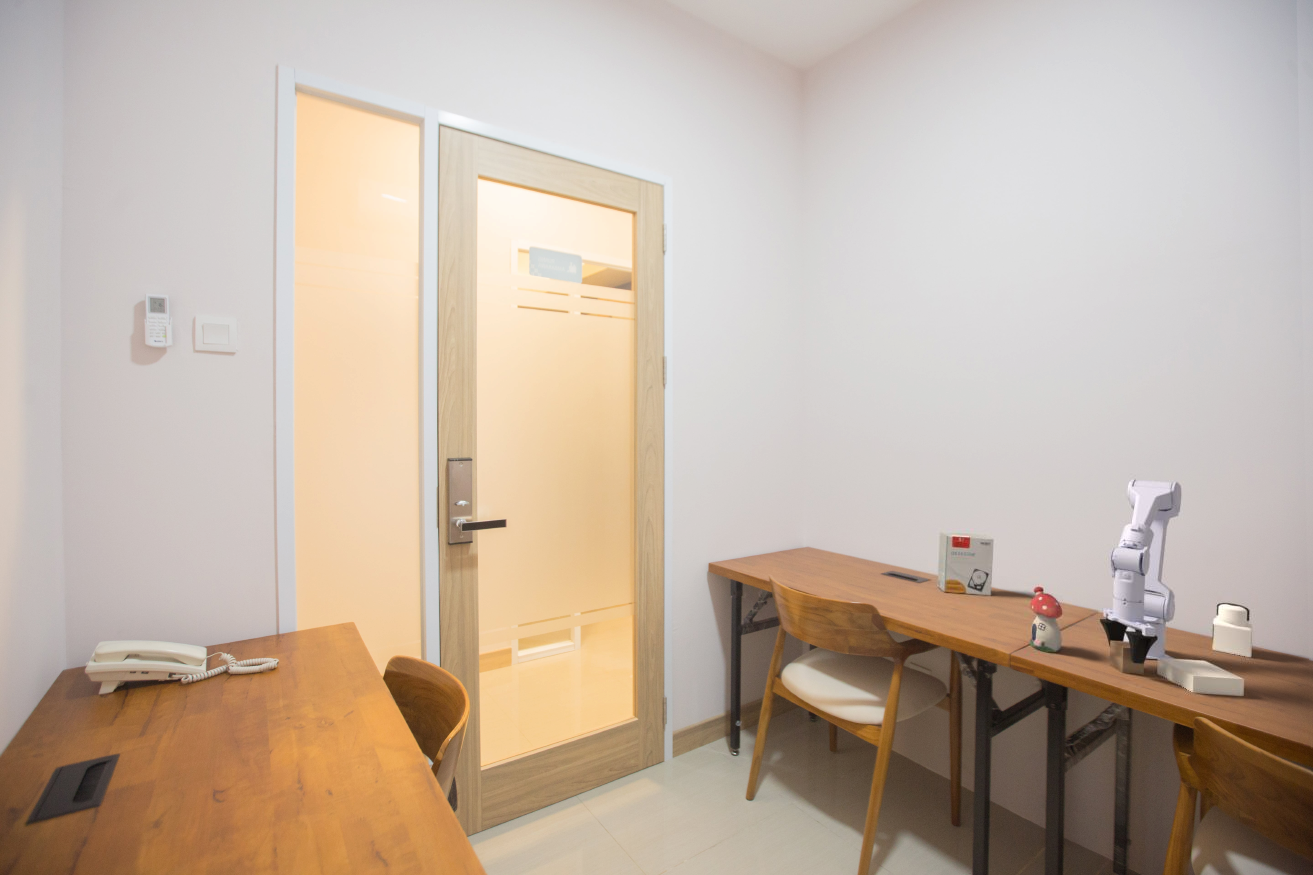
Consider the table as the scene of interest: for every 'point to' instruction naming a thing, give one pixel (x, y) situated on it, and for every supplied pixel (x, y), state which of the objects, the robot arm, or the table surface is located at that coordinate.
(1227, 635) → the medicine bottle
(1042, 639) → the decorative ornament
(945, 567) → the hard drive box
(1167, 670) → the ceramic base
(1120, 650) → the walnut block
